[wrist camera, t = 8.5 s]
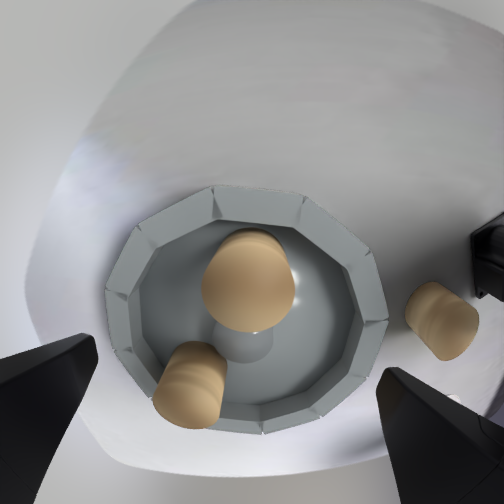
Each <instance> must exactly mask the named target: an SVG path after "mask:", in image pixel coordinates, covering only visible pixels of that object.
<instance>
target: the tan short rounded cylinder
mask: <svg viewBox="0 0 504 504" xmlns="http://www.w3.org/2000/svg"><path fill="white" fill-rule="evenodd" d="M227 368H228V365H227V361H226V358H224V357H223V356H222V355H220V354H219V352H218V351H217V350H216V348H215V347H214V346H212V345H211V344H208V343H205V342H201V341H188V342H184V343H182V344H180V345H179V346H177V347H176V349H175V350H174V352H173V354H172V356H171V358H170V360H169V362H168V364H167V366H166V368H165V371H164V373H163V375H162V377H161V379H160V381H159V383H158V385H157V388H156V390H155V392H154V394H153V398H152V400H153V405H154V407H155V409H156V410H157V412H158V413H159V414H160V415H161V416H162V417H163V418H164V419H166V420H167V421H169V422H171V423H173V424H175V425H177V426H180V427H183V428H188V429H203V428H207V427H210V426H212V425H213V424H215V423H216V422H217V420H218V418H219V415H220V409H221V403H222V397H223V391H224V386H225V380H226V374H227Z"/></svg>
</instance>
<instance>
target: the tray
mask: <svg viewBox="0 0 504 504" xmlns="http://www.w3.org/2000/svg"><path fill="white" fill-rule="evenodd" d="M246 227H256V228H261V229H264V230H266V231H268V232H270V233H271V234H273V235H274V236H275V237H276V238H277V239H278V240H279V241H280V243H281V244H282V246H283V249H284V251H285V254H286V257H287V260H288V263H289V266H290V269H291V272H292V275H293V278H294V283H295V297H294V301H293V304H292V307H291V309H290V310H289V312H288V313H287V315H286V316H285V317H284V318H283V319H282V320H281V321H280V322H279V323H277V324H276V325H274V326H273V327H271V328H268V329H266V330H263V331H258V332H240V331H235V330H232V329H230V328H227V327H225V326H224V325H222V324H220V323H219V322H218V321H217V320H215V319H214V318H213V317H212V315H211V314H210V313H209V311H208V310H207V308H206V306H205V304H204V301H203V298H202V293H201V284H202V279H203V275H204V273H205V270H206V269H207V267H208V265H209V264H210V262H211V260H212V258H213V257H214V255H215V253H216V252H217V250H218V248H219V247H220V245H221V243H222V242H223V241H224V239H225V238H226V237H227V236H228V235H229V234H231V233H232V232H234V231H236V230H238V229H241V228H246ZM105 287H107V288H106V289H105V290H104V291H105V301H106V310H107V317H108V325H109V331H110V338H111V344H112V349H115V351H114V353H115V354H116V356H117V357H118V359H119V360H120V361H121V363H122V364H123V366H124V367H125V368H126V370H127V371H128V372H129V374H130V375H131V376H132V378H133V379H134V380H135V382H136V383H137V384H138V386H139V387H140V388H141V389H142V391H143V392H144V393H145V394H146V396H147V397H148V398H149V397H152V398H153V394H154V392H155V390H156V388H157V385H158V383H159V381H160V379H161V377H162V375H163V373H164V371H165V368H166V366H167V364H168V362H169V360H170V358H171V356H172V354H173V352H174V350H175V349H176V347H177V346H179V345H180V344H182V343H184V342H188V341H201V342H205V343H208V344H211V345H212V346H214V347H215V348H216V350H217V351H218V352H219V354H220V355H222V356H223V357H224V358H226V361H227V365H228V368H227V374H226V380H225V386H224V391H223V397H222V403H221V409H220V415H219V418H218V420H217V422H216V423H215V424H213V425H212V426H210V427H207V428H206V429H212V430H220V431H228V432H237V433H247V434H260V435H261V434H262V431H263V433H264V434H268V433H272V432H276V431H280V430H284V429H287V428H291V427H294V426H298V425H301V424H304V423H308V422H311V421H314V420H317V419H320V416H322V417H323V416H325V415H326V414H327V413H328V412H330V411H331V410H332V409H333V408H335V407H336V406H337V405H338V404H339V403H341V402H342V401H343V400H344V399H345V398H346V397H348V396H349V395H350V394H351V393H352V392H353V391H354V390H356V389H357V388H358V387H359V386H360V385H361V384H362V383H363V382H364V381H365V380H366V377H369V374H370V372H371V369H372V367H373V364H374V362H375V359H376V357H377V354H378V351H379V349H380V346H381V343H382V340H383V337H384V334H385V331H386V328H387V325H388V322H389V320H388V319H387V318H388V317H389V314H388V309H387V305H386V301H385V297H384V293H383V289H382V285H381V281H380V277H379V274H378V270H377V266H376V263H375V259H374V256H373V253H372V252H371V251H370V248H369V247H368V246H366V245H365V244H364V243H363V242H362V241H361V240H359V239H358V238H357V237H356V236H355V235H354V234H352V233H351V232H350V231H349V230H348V229H347V228H345V227H344V226H343V225H342V224H341V223H339V222H338V221H337V220H336V219H334V218H333V217H332V216H331V215H330V214H328V213H327V212H326V211H325V210H323V209H322V208H321V207H320V206H318V205H317V204H316V203H315V202H313V201H312V200H311V199H309V198H308V197H306V196H303V195H301V194H298V193H293V192H285V191H276V190H268V189H259V188H249V187H239V186H228V185H217V186H212V187H208V188H206V189H204V190H202V191H200V192H198V193H196V194H194V195H192V196H190V197H188V198H186V199H184V200H182V201H180V202H178V203H176V204H174V205H172V206H170V207H168V208H166V209H164V210H162V211H160V212H158V213H157V214H155V215H153V216H151V217H149V218H147V219H146V220H144V221H142V222H140V223H138V226H136V227H135V228H134V229H133V231H132V233H131V235H130V237H129V239H128V240H127V242H126V244H125V246H124V248H123V250H122V252H121V254H120V256H119V258H118V260H117V262H116V264H115V266H114V268H113V270H112V272H111V274H110V276H109V278H108V281H107V283H106V285H105ZM152 398H151V400H152ZM152 401H153V400H152ZM319 415H320V416H319Z"/></svg>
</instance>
